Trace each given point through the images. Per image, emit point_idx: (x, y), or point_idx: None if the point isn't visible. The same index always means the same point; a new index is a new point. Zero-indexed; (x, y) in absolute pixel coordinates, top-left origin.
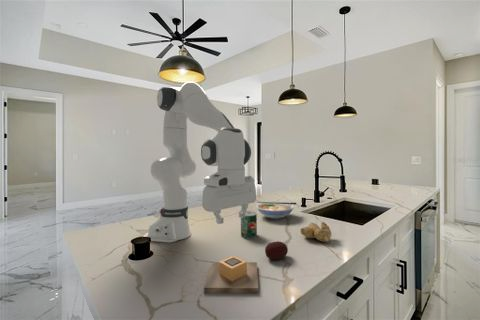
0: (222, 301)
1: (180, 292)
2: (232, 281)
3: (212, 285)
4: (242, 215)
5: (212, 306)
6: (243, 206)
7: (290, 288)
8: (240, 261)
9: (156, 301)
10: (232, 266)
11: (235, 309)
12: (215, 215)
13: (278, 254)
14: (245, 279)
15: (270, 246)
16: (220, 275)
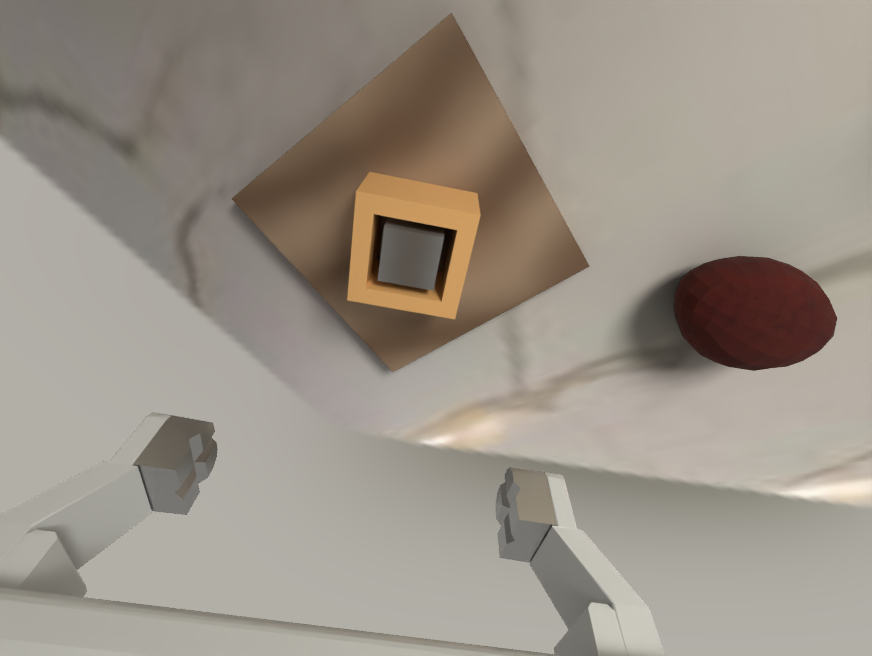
0: (267, 290)
1: (147, 87)
2: None
3: (273, 219)
4: (503, 525)
5: (221, 280)
6: (568, 635)
7: (486, 421)
8: (444, 287)
9: (13, 43)
10: (367, 289)
11: (275, 346)
12: (57, 500)
13: (690, 344)
14: None
15: (723, 322)
16: None
